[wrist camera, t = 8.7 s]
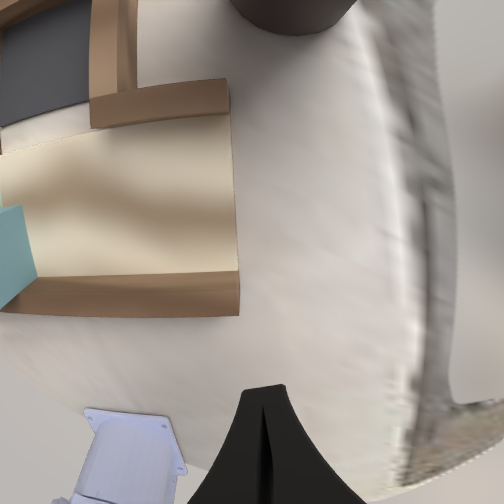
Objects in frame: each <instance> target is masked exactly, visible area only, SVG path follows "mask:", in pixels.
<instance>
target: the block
mask: <svg viewBox="0 0 504 504" xmlns="http://www.w3.org/2000/svg"><path fill="white" fill-rule="evenodd" d="M37 277H38V275H37V271H36V268H35V264H34V260H33V256H32V252H31V247H30V243H29V238H28V234H27V229H26V224H25V219H24V213H23V208H22V204H21V205H15V206H9V207H4V208H0V309H1V308H2V307H4V306H5V305H6V304H7V303H8V302H9V301H10V300H11V299H13V298H14V297H15V296H16V295H17V294H18V293H19V292H21V291H22V290H23V289H24V288H25V287H26V286H28V285H29V284H30V283H31V282H32V281H34V280H35V279H36V278H37Z"/></svg>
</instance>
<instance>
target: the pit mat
mask: <svg viewBox="0 0 504 504" xmlns="http://www.w3.org/2000/svg"><path fill="white" fill-rule="evenodd" d="M91 9H92V0H70V1H68V2H65V3H62V4H60V5H57V6H55V7H52V8H50V9H47V10H45V11H43V12H40V13H38V14H36V15H33V16H31V17H29V18H27V19H25V20H23V21H21V22H19V23H17V24H15V25H13V26H11V27H9V28H7V29H5V30H4V32H3V40H2V50H1V63H0V127H3V126H5V125H8V124H11V123H14V122H16V121H19V120H22V119H25V118H28V117H31V116H35V115H38V114H41V113H44V112H48V111H51V110H55V109H58V108H62V107H65V106H69V105H73V104H77V103H81V102H85V101H89V43H90V23H91Z"/></svg>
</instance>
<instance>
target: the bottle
mask: <svg viewBox="0 0 504 504" xmlns="http://www.w3.org/2000/svg"><path fill="white" fill-rule="evenodd" d="M356 1H357V0H231V2H232V4H233V5H234V6H235V8H236V9H237V10H238V11H239V12H240V14H241V15H242V16H243V17H244V18H246V19H247V20H249V21H250V22H252V23H253V24H255V25H256V26H258V27H259V28H262V29H265V30H268V31H271V32H274V33H276V34H283V35H293V36H300V35H307V34H313V33H318V32H320V31H322V30H324V29H327V28H329V27H331V26H333V25H334V24H335V23H336V22H337V21H338V20H339V19H340V18H341V17H342V16H343V15H344V14H345V13H346V12H347V11H348V10H349V9H350V8H351V6H352V5H353V4H354V3H355V2H356Z"/></svg>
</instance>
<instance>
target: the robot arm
mask: <svg viewBox="0 0 504 504" xmlns="http://www.w3.org/2000/svg"><path fill="white" fill-rule="evenodd" d="M83 413H84V415H85V417H86V419H87V421H88V422H89V424H90V426H91V428H92V430H93V431H94V433H95V437H94V439H93V442H92V444H91V447H90V450H89V452H88V455H87V458H86V460H85V463H84V465H83V468H82V470H81V473H80V476H79V479H78V481H77V484H76V487H75V489H74V492H73V495H72V497H71V498H70V500H69V501H68V500H66V499H65V498H63V497H61V498H60V499H54V500H53V501H52V504H173V503H174V495H175V489H176V482H177V476H178V475H183V476H185V475H187V473H188V471H187V468H186V465H185V463H184V460H183V458H182V455H181V452H180V450H179V447H178V444H177V441H176V438H175V436H174V433H173V430H172V427H171V424H170V421H169V419H168V418H167V417H164V416H153V415H140V414H130V413H120V412H111V411H103V410H96V409H89V408H86V409H85V410H84V412H83ZM187 504H366V503H365V502H364V501H363V500H362V499H361V498H360V497H359V496H358V495H357V494H356V493H355V492H354V491H353V490H352V489H350V488H349V487H348V486H347V485H346V483H345V482H344V481H343V480H342V479H341V478H340V477H339V476H338V475H337V474H336V473H335V471H334V470H333V469H332V468H331V467H330V465H329V464H328V463H327V462H326V460H325V459H324V458H323V457H322V455H321V454H320V453H319V451H318V450H317V448H316V447H315V445H314V444H313V443H312V441H311V440H310V438H309V436H308V435H307V433H306V432H305V430H304V428H303V426H302V425H301V423H300V421H299V419H298V418H297V416H296V414H295V412H294V409H293V407H292V405H291V403H290V400H289V397H288V394H287V391H286V386H285V385H283V384H278V385H272V386H266V387H260V388H253V389H246V390H244V391H243V392H242V393H241V398H240V401H239V405H238V408H237V411H236V414H235V417H234V420H233V422H232V425H231V427H230V430H229V432H228V434H227V437H226V439H225V442H224V444H223V446H222V448H221V450H220V452H219V454H218V456H217V458H216V460H215V461H214V463H213V465H212V467H211V469H210V470H209V472H208V474H207V476H206V477H205V479H204V480H203V482H202V483H201V485H200V486H199V488H198V489H197V491H196V492H195V493H194V495H193V496H192V497H191V499H190V500H189V502H188V503H187Z"/></svg>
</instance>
